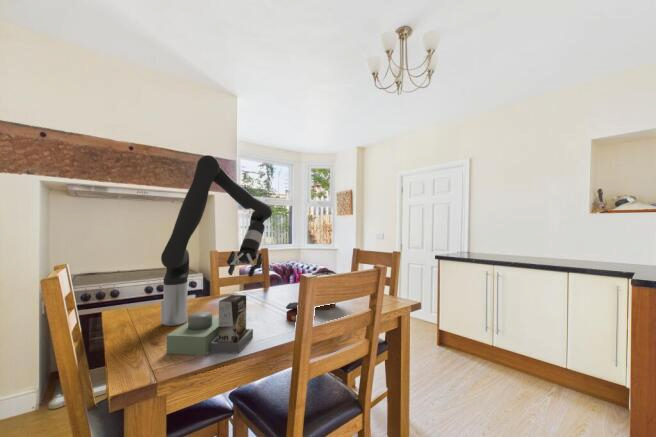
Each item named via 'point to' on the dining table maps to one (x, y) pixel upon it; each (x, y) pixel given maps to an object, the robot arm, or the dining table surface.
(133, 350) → the dining table surface
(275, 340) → the dining table surface
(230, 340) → the coffee box
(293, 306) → the canned food
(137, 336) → the dining table surface
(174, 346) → the grey-green blocky piece
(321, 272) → the case
